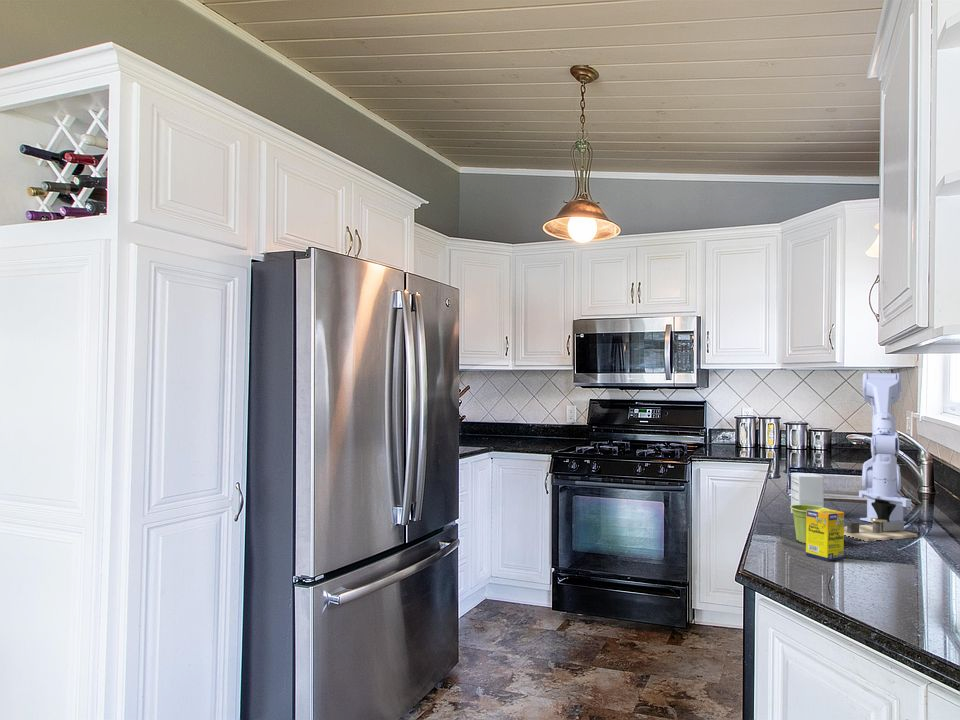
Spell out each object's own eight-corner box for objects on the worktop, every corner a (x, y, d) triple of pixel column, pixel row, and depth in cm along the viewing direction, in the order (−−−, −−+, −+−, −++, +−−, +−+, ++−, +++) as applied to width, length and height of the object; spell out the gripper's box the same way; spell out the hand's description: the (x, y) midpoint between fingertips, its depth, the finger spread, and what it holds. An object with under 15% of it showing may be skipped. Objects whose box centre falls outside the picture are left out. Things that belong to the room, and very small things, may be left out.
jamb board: (874, 527, 199) (874, 514, 199) (917, 537, 187) (917, 524, 187) (826, 531, 193) (826, 518, 193) (868, 541, 181) (868, 528, 181)
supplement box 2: (827, 561, 160) (828, 513, 160) (805, 555, 165) (805, 509, 166) (844, 559, 163) (845, 511, 163) (821, 553, 168) (822, 507, 168)
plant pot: (835, 542, 180) (835, 508, 180) (823, 548, 173) (823, 513, 173) (797, 536, 186) (797, 503, 186) (784, 541, 179) (784, 507, 179)
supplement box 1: (814, 513, 218) (815, 473, 218) (824, 518, 210) (824, 476, 210) (790, 512, 218) (790, 472, 219) (798, 517, 211) (798, 475, 211)
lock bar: (876, 532, 187) (877, 520, 187) (868, 530, 189) (868, 518, 189) (906, 530, 190) (906, 518, 190) (896, 528, 193) (896, 516, 193)
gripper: (850, 475, 197) (850, 523, 196) (897, 483, 183) (897, 535, 183) (869, 474, 199) (869, 522, 199) (917, 482, 185) (916, 533, 185)
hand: (883, 528), depth 191 cm, fingers closed, pressing on lock bar
